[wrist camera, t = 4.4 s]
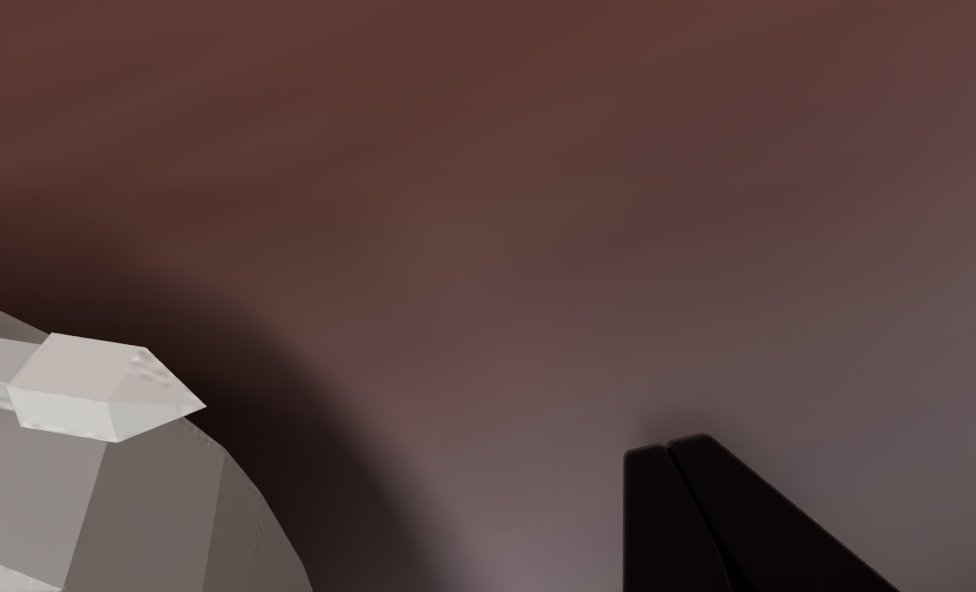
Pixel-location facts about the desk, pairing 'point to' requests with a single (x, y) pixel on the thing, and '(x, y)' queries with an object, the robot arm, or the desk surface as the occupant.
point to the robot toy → (121, 479)
